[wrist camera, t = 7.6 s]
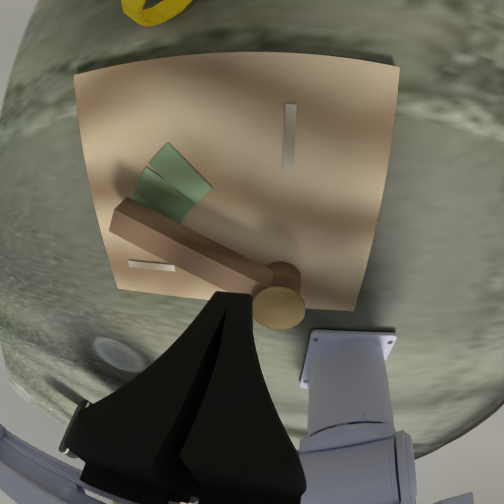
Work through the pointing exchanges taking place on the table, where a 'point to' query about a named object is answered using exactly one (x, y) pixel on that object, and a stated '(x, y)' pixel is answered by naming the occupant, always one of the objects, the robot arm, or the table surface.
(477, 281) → the table surface
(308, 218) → the tan wooden board
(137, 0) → the watch
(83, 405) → the battery charger
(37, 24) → the table surface
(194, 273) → the peg lever
